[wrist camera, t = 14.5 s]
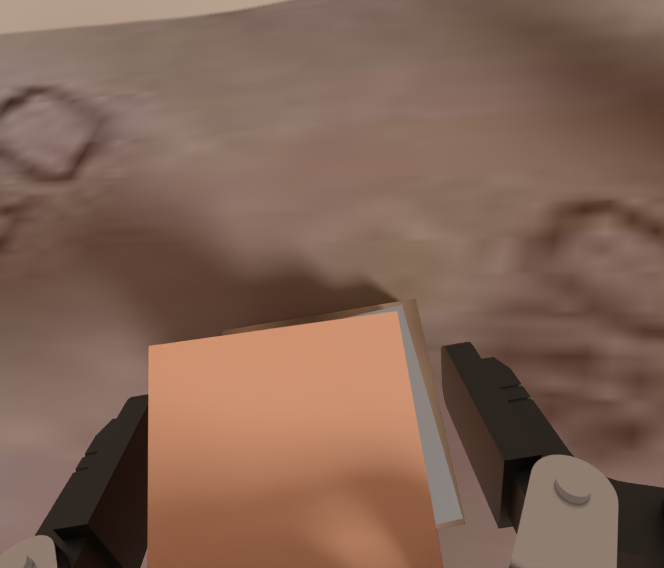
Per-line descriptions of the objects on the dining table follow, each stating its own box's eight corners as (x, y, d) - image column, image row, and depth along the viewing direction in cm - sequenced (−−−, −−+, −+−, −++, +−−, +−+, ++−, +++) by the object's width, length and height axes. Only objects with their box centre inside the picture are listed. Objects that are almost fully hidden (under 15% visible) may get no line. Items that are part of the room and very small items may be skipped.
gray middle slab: (396, 316, 20) (401, 304, 17) (447, 497, 18) (462, 518, 15) (236, 354, 20) (216, 348, 18) (263, 539, 18) (244, 568, 15)
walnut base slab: (408, 310, 23) (415, 298, 21) (450, 505, 20) (465, 524, 17) (238, 337, 24) (221, 330, 21) (253, 534, 21) (235, 556, 18)
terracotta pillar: (377, 353, 17) (397, 310, 7) (396, 474, 16) (452, 618, 6) (269, 368, 17) (148, 346, 7) (278, 489, 16) (146, 651, 6)
